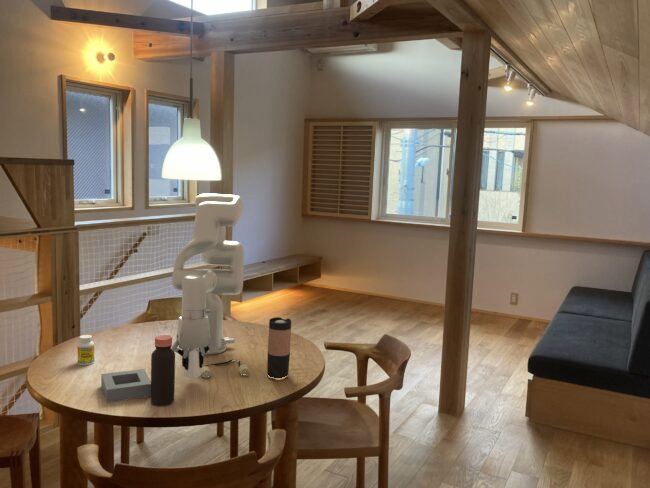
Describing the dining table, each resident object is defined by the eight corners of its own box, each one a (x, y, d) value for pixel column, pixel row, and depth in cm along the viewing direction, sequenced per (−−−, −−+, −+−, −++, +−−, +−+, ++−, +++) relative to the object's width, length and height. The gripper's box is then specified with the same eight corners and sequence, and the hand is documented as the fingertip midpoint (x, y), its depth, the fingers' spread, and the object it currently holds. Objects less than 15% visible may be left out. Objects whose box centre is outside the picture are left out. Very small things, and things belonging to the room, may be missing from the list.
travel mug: (271, 381, 185) (274, 324, 182) (263, 373, 192) (265, 318, 189) (292, 379, 189) (295, 322, 186) (283, 371, 195) (286, 316, 192)
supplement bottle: (92, 359, 196) (92, 333, 194) (95, 364, 191) (95, 337, 190) (76, 361, 193) (76, 335, 191) (79, 366, 188) (78, 339, 187)
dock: (144, 380, 180) (144, 368, 179) (151, 396, 169) (152, 383, 168) (101, 386, 174) (101, 374, 173) (106, 402, 162) (106, 389, 162)
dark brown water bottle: (145, 403, 163) (146, 338, 161) (160, 395, 170) (161, 332, 167) (164, 408, 161) (165, 342, 158) (178, 399, 167) (180, 336, 165)
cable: (196, 364, 198) (197, 355, 198) (242, 362, 203) (242, 353, 203) (200, 380, 184) (201, 370, 183) (249, 377, 189) (249, 368, 188)
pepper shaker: (185, 379, 176) (186, 346, 174) (182, 372, 181) (183, 340, 179) (202, 377, 178) (203, 345, 176) (199, 370, 183) (200, 339, 181)
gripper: (215, 307, 183) (214, 359, 186) (164, 312, 175) (164, 366, 178) (222, 314, 177) (221, 368, 180) (169, 319, 169) (169, 375, 172)
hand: (192, 366), depth 179 cm, fingers closed on pepper shaker, 3 cm apart
